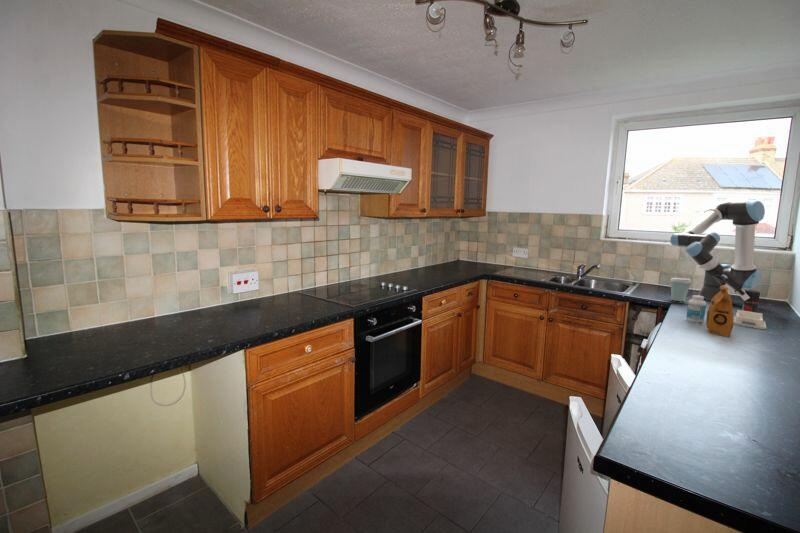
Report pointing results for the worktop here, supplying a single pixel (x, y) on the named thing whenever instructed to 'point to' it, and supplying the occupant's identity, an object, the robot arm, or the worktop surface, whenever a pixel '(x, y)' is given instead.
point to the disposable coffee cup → (679, 288)
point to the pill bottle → (696, 309)
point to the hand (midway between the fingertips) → (740, 296)
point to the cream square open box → (749, 319)
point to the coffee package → (720, 314)
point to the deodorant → (751, 301)
